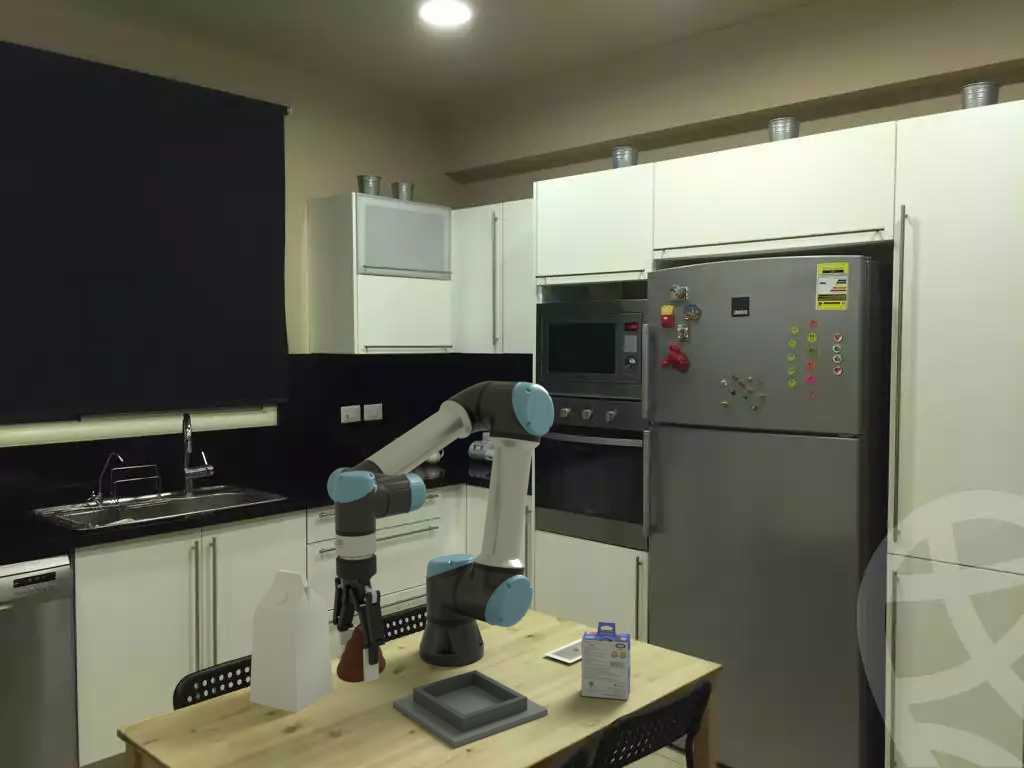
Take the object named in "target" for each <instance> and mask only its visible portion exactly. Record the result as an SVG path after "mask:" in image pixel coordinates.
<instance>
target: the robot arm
mask: <svg viewBox="0 0 1024 768" xmlns="http://www.w3.org/2000/svg"><path fill="white" fill-rule="evenodd" d="M554 408H555V406H554V403H553V400H552V397H551V396H550V395H549V392H548V390H546V389H545V387H543V386H542V385H540V384H538V383H533V382H527V381H498V380H488V381H482V382H479V383H476V384H474V385H472V386H469V387H467V388H466V389H463V390H461V391H460V392H458V393H457V394H455V395H453V396H451V397H449V398H448V399H447V400H445V401H443V402H442V403H441V405H440V407H439V410H438V411H437V412H435V413H433V414H432V415H430V416H429V417H428V418H426V419H424V420H423V421H422V422H420V423H419V424H417V425H416V426H414V427H412V428H411V429H409V430H408V431H407V432H405V433H403V434H402V435H400V436H399V437H398V438H396V439H394V440H393V441H391V442H390V443H389V444H386V445H385V446H384V447H382V448H381V449H380V450H378V451H376V452H375V453H374V454H372V455H371V456H369V457H367V458H365V459H364V460H363V461H362V462H360V463H358V464H357V465H355V466H354V467H340V468H339V467H338V468H337V469H335V470H334V471H333V472H332V473H331V474H330V475H329V477H328V480H327V484H326V489H327V492H328V493H327V494H328V496H329V497H330V499H331V500H332V501H333V502H334V503H333V506H334V509H333V510H334V530H335V531H334V532H335V540H334V542H333V544H334V546H335V553H336V555H337V557H336V558H335V574H336V576H335V577H334V588H335V591H334V599H333V600H334V603H333V613H332V624H333V626H336V629H337V631H338V640H339V642H338V643H339V646H340V645H345V646H346V644H347V642H348V640H349V639H350V638H351V637H352V633H353V630H354V629H353V628H355V625H354V624H353V621H354V616H355V613H357V614H358V618H359V623H360V626H361V627H360V628H362V632H363V636H364V640H365V644H366V645H365V646H363V647H362V648H363V665H364V681H363V682H364V683H366V684H367V683H370V682H373V681H376V680H379V679H380V675H379V674H380V673H379V662H378V647H379V646H380V647H381V646H384V645H385V644H386V637H385V631H384V622H383V614H382V607H381V591H380V590H374V589H373V587H372V582H371V580H372V578H373V577H374V576H375V575H376V574H377V572H378V571H377V570H378V568H377V567H378V566H377V561H378V559H377V558H378V557H377V555H376V554H375V553H376V552H377V520H379V519H383V518H388V517H393V516H398V515H403V514H409V513H410V512H414V511H417V510H420V509H421V508H422V507H423V505H425V502H426V499H427V488H426V484H425V483H424V481H423V479H422V478H421V476H419V475H418V474H416V473H410V472H411V471H413V470H414V469H416V468H417V467H418V466H420V465H421V464H422V463H424V462H425V461H427V460H428V459H430V458H431V457H433V456H434V455H435V454H437V453H438V452H440V451H441V450H442V449H444V448H445V447H447V446H449V444H451V443H452V442H454V441H455V440H457V439H458V438H459V439H464V438H467V437H469V436H470V435H471V434H473V433H476V432H481V431H489V435H488V439H489V440H490V442H491V443H492V444H493V446H494V449H493V457H492V463H491V464H492V465H491V472H490V473H491V474H490V480H489V489H488V497H487V504H486V513H485V521H484V529H483V537H482V542H481V543H482V544H481V552H480V553H479V554H478V555H477V556H476V555H475V554H473V553H455V554H447V555H441V556H438V557H434V558H431V560H429V561H428V562H427V566H426V576H425V587H426V588H425V590H426V591H425V592H426V593H425V594H426V599H425V600H426V624H425V627H424V629H423V634H422V637H421V640H420V643H419V646H418V647H419V648H418V649H419V651H418V652H419V657H420V659H421V660H422V661H424V662H425V663H428V664H431V665H435V666H443V667H444V666H447V667H450V666H451V667H452V666H453V667H454V666H463V665H464V666H465V665H469V664H471V663H475V662H477V661H479V660H480V659H482V658H483V657H484V655H485V644H484V640H483V637H482V634H481V631H480V628H479V624H478V621H480V622H483V623H486V624H488V625H490V626H497V627H501V628H508V627H509V628H510V627H513V626H515V625H516V624H518V623H519V622H521V621H522V619H523V618H524V617H525V616H526V614H527V613H528V611H529V609H530V608H531V607H530V606H531V605H532V602H533V601H532V600H533V596H534V591H533V586H532V582H531V580H530V579H529V578H528V577H527V576H526V575H525V569H526V565H525V563H524V562H523V561H522V559H521V557H520V553H521V545H522V537H523V531H524V530H523V529H524V520H525V513H526V512H525V511H526V505H527V498H528V496H527V495H528V488H529V480H530V471H531V463H532V457H533V456H532V455H533V451H534V450H535V448H537V447H538V446H539V445H540V444H541V437H542V436H544V435H546V434H547V433H548V432H549V431H550V428H551V427H552V426H553V423H554V419H555V409H554ZM339 646H338V647H339Z"/></svg>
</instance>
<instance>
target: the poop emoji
mask: <svg viewBox="0 0 1024 768" xmlns="http://www.w3.org/2000/svg"><path fill="white" fill-rule="evenodd" d="M353 628H354V629H352V630H353V633H352V637H351V638H350V639H349V640H348V642H347V644H346V646H345V645H340V646H338V647H337V649H336V657H337V658H338V660H339V662H338V664H337V666H336V676H337V677H338V679H339V680H341V681H343V682H346V683H352V684H353V683H354V684H355V683H363V682H364V665H363V648H362V647H363V646H365V645H366V644H365V640H364V636H363V632H362V628H361V627H360V626H358V625H357V626H354V627H353ZM378 662H379V674H382V673H383V672H384V671H385V669H386V667H387V662H386V658H385V657H384V655H383V651H382V648H381V646H379V647H378Z"/></svg>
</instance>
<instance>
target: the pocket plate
mask: <svg viewBox="0 0 1024 768" xmlns="http://www.w3.org/2000/svg"><path fill="white" fill-rule="evenodd" d="M392 707H394V708H395V709H396V710H399V711H400V712H401V713H403V714H404V715H406V717H407V716H408V717H409V718H410V719H412V720H413V721H414V722H416V723H418V724H419V725H421V726H422V727H423V728H425V729H426V730H427V731H428V732H429V731H430V732H431V733H432V734H434V735H435V736H437V737H438V738H439V739H441V740H443V741H444V742H446V743H447V744H449V745H450V746H451V747H453V748H458V747H461V746H463V745H464V746H465V745H467V744H469V743H472V742H475V741H478V740H481V739H483V738H485V737H488V736H491V735H494V734H497V733H499V732H503V731H505V730H508V729H511V728H513V727H516V726H519V725H522V724H525V723H528V722H530V721H533V720H535V719H539V718H542V717H544V716H547V715H548V714H549V710H548V708H546V707H544V706H542V705H540V704H538V703H537V702H534V701H533V700H531V699H529V698H528V696H526V695H524V694H522V693H520V692H518V691H516V690H514V689H512V688H510V686H507V685H505V684H503V683H501V682H499V681H497V680H495V679H494V678H491V677H489V676H487V675H486V674H484V673H482V672H480V671H479V670H477V669H474V670H471V671H468V672H464V673H461V674H458V675H457V674H456V675H454V676H451V677H447V678H444V679H440V680H436V681H434V682H430V683H427V684H424V685H420V686H417V687H414V688H413V689H412V695H409V696H406V697H401V698H398V699H395V700H393V701H392Z"/></svg>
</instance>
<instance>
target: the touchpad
mask: <svg viewBox="0 0 1024 768" xmlns="http://www.w3.org/2000/svg"><path fill="white" fill-rule="evenodd" d="M582 638H583V637H582ZM582 638H579V639H577V640H575V641H573V642H570V643H568V644H564V645H563V646H559V647H557V648H556V649H554V650H551V651H548V652H546V653H543V655H544V656H546V657H550V658H553V659H556V660H559V661H562V662H566V663H568V664H571V663H574V662H576V661H578V660H580V659H581V660H582Z"/></svg>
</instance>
